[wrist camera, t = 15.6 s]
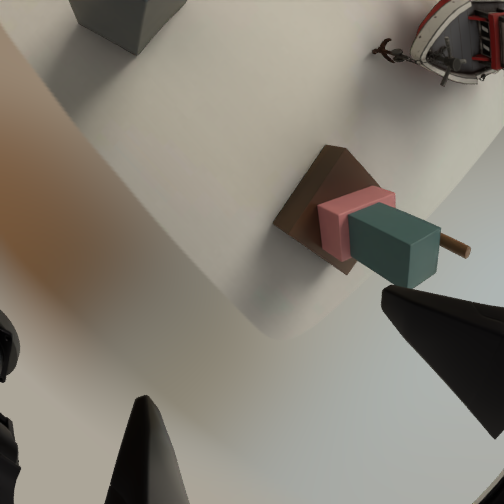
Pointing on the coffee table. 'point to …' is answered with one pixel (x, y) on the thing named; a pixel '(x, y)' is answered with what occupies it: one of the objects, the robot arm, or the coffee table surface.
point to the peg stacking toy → (383, 236)
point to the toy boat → (458, 41)
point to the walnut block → (322, 199)
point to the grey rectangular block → (126, 19)
